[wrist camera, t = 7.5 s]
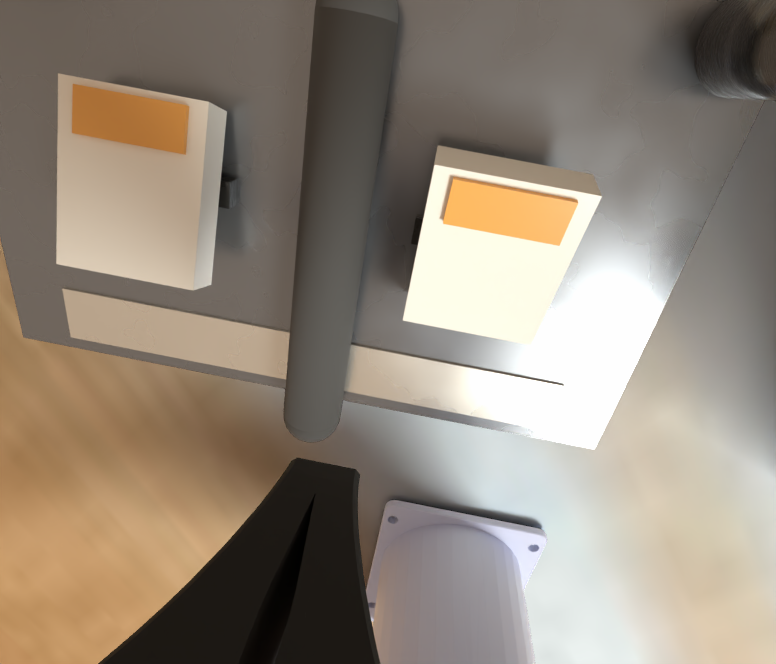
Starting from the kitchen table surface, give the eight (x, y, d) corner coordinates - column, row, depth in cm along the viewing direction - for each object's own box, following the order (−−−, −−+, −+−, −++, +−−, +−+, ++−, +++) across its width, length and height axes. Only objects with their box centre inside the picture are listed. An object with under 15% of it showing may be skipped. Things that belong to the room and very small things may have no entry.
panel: (582, 410, 20) (632, 527, 15) (64, 309, 20) (-69, 388, 15) (762, 9, 13) (973, -40, 8) (-15, -133, 14) (-306, -271, 8)
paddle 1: (211, 284, 15) (190, 291, 13) (85, 260, 15) (52, 264, 13) (227, 111, 13) (206, 100, 12) (89, 85, 13) (53, 71, 12)
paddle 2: (527, 319, 15) (530, 348, 14) (407, 296, 16) (401, 323, 15) (593, 174, 12) (603, 199, 11) (437, 144, 12) (433, 167, 11)
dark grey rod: (341, 423, 18) (330, 459, 16) (290, 413, 18) (274, 448, 17) (408, -18, 12) (402, -37, 10) (329, -33, 12) (309, -55, 10)
